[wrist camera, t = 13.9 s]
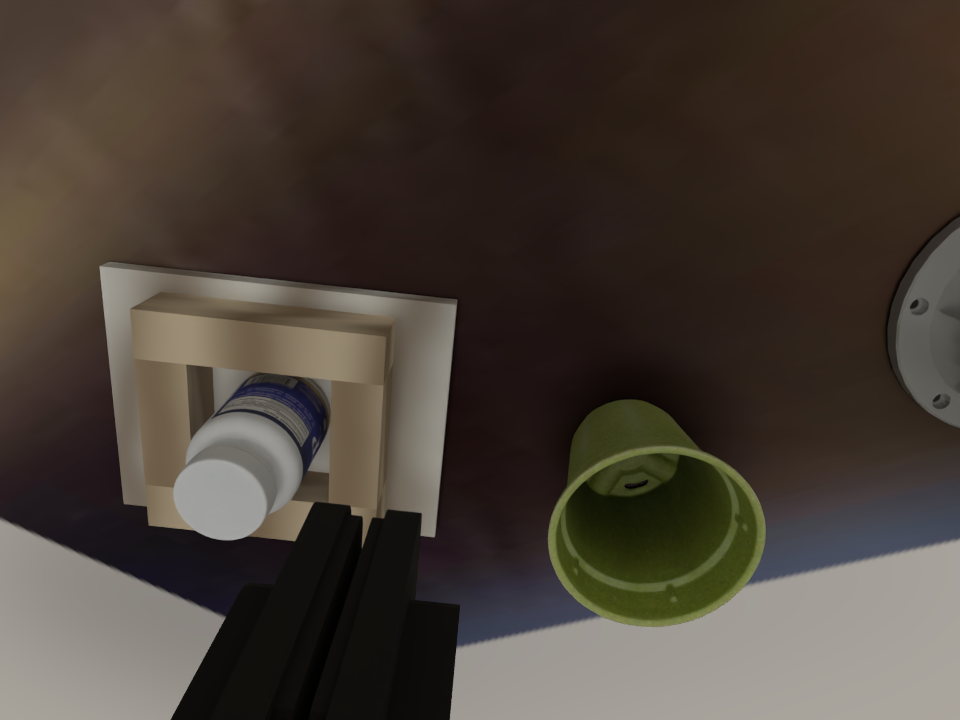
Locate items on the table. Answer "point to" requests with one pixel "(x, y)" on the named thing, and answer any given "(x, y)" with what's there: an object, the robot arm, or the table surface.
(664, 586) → the plant pot
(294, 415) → the pill bottle
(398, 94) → the table surface
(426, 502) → the frame
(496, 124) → the table surface
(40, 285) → the table surface
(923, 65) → the table surface
